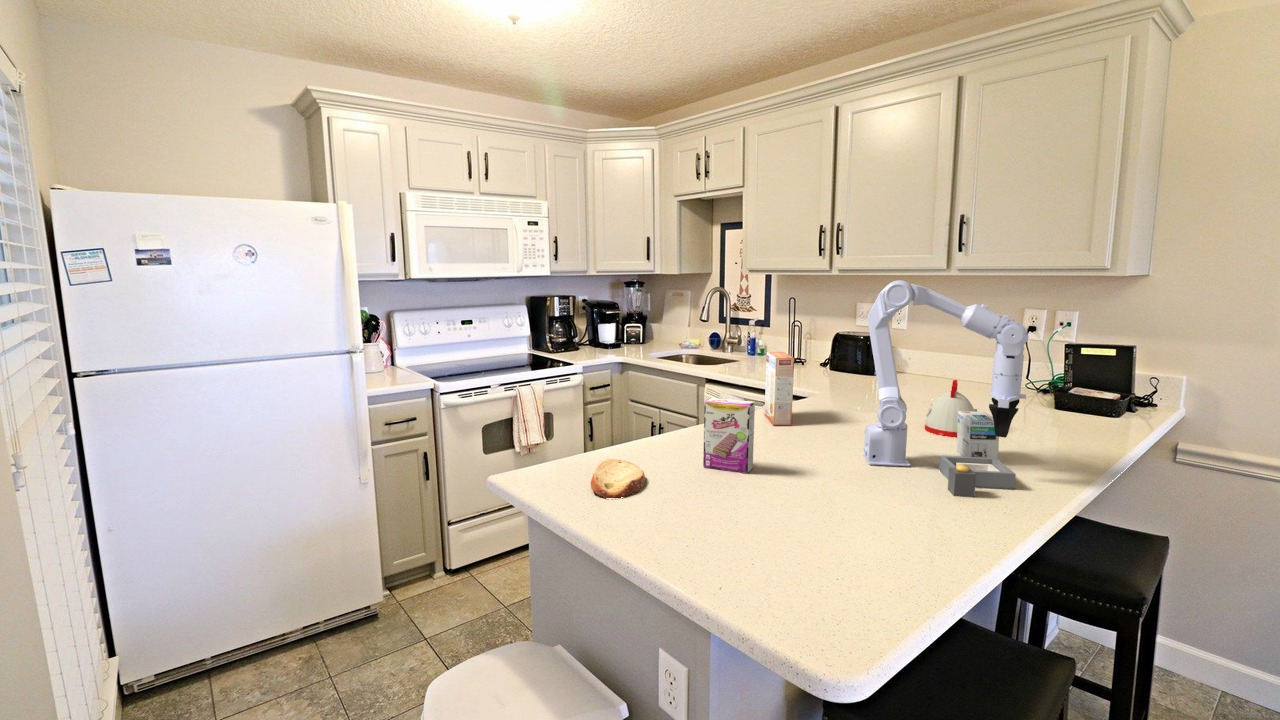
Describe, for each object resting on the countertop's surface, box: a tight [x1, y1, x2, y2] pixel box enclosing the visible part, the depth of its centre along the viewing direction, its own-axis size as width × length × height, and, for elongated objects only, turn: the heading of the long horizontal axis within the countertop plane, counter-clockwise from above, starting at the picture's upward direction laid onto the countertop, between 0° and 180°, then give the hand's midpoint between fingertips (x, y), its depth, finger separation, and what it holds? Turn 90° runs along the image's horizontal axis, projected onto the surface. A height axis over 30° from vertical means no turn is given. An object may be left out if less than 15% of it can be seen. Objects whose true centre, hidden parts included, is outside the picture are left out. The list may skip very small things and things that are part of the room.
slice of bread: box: [590, 458, 646, 499], centre depth 138 cm, size 18×18×4 cm
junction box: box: [938, 455, 1016, 490], centre depth 138 cm, size 12×11×4 cm
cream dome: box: [924, 379, 978, 439], centre depth 178 cm, size 14×14×15 cm
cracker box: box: [764, 351, 795, 427], centre depth 191 cm, size 14×6×21 cm, turn 179°
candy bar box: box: [702, 397, 756, 474], centre depth 146 cm, size 11×5×16 cm, turn 65°
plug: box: [947, 464, 976, 498], centre depth 130 cm, size 4×4×6 cm
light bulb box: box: [956, 411, 1000, 461], centre depth 153 cm, size 11×7×11 cm, turn 169°
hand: (1001, 432), depth 141 cm, fingers open, 7 cm apart
